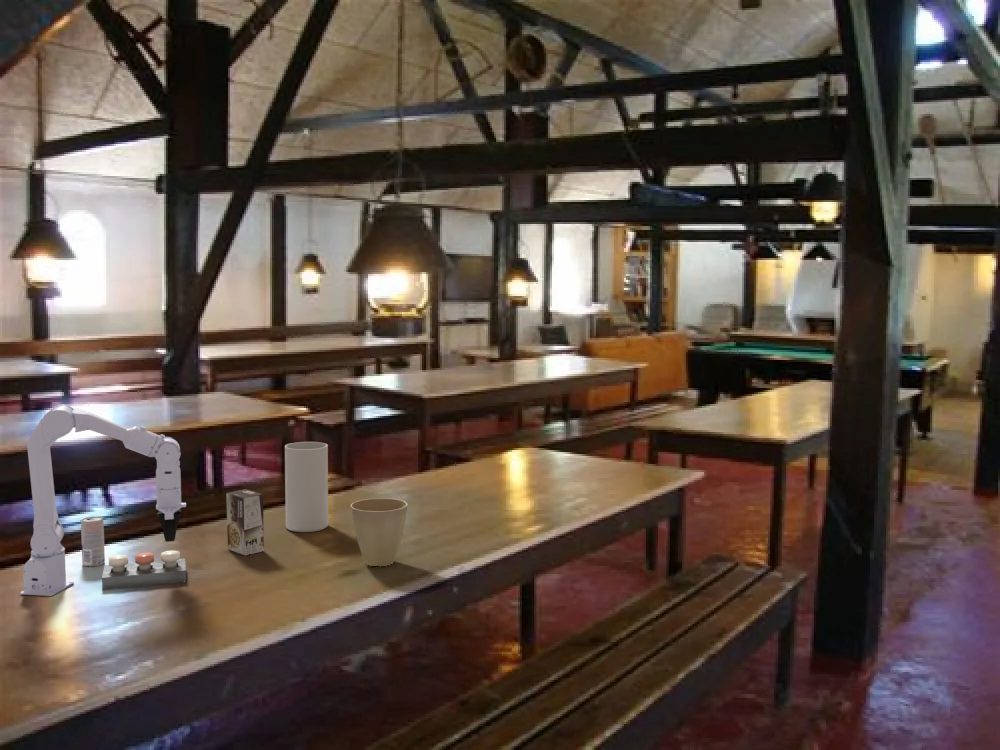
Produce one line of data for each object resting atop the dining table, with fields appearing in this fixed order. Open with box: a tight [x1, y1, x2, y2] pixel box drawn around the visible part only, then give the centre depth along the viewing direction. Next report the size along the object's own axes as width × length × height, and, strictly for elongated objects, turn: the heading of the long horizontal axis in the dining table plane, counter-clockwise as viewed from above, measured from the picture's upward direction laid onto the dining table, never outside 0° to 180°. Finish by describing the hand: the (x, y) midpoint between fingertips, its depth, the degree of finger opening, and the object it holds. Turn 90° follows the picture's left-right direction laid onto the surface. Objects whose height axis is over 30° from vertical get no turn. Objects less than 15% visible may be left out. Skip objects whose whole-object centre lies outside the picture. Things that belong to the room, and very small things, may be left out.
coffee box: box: [225, 488, 265, 556], centre depth 252 cm, size 9×6×16 cm
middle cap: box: [134, 552, 155, 570], centre depth 228 cm, size 4×4×4 cm
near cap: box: [108, 554, 129, 573], centre depth 226 cm, size 4×4×4 cm
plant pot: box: [350, 497, 409, 568], centre depth 243 cm, size 15×15×16 cm
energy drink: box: [80, 516, 106, 568], centre depth 239 cm, size 5×5×12 cm
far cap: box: [160, 550, 181, 568], centre depth 230 cm, size 4×4×4 cm
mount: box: [101, 558, 187, 591], centre depth 228 cm, size 19×10×3 cm, turn 110°
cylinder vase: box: [284, 441, 329, 533], centre depth 276 cm, size 12×12×25 cm
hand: (170, 540), depth 229 cm, fingers closed
